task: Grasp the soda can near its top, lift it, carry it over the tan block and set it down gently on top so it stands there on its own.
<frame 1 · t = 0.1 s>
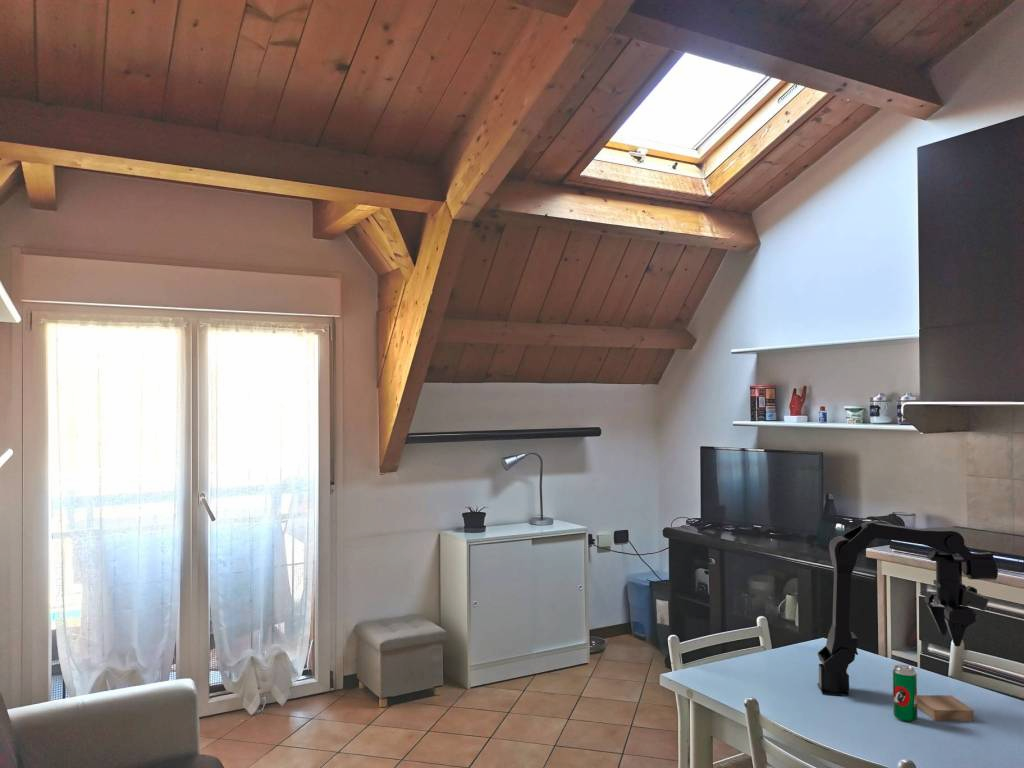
hand: (950, 640, 189), 15 cm above the table, fingers open, 9 cm apart
soda can: (905, 719, 177), on the table
tan block: (943, 713, 180), on the table
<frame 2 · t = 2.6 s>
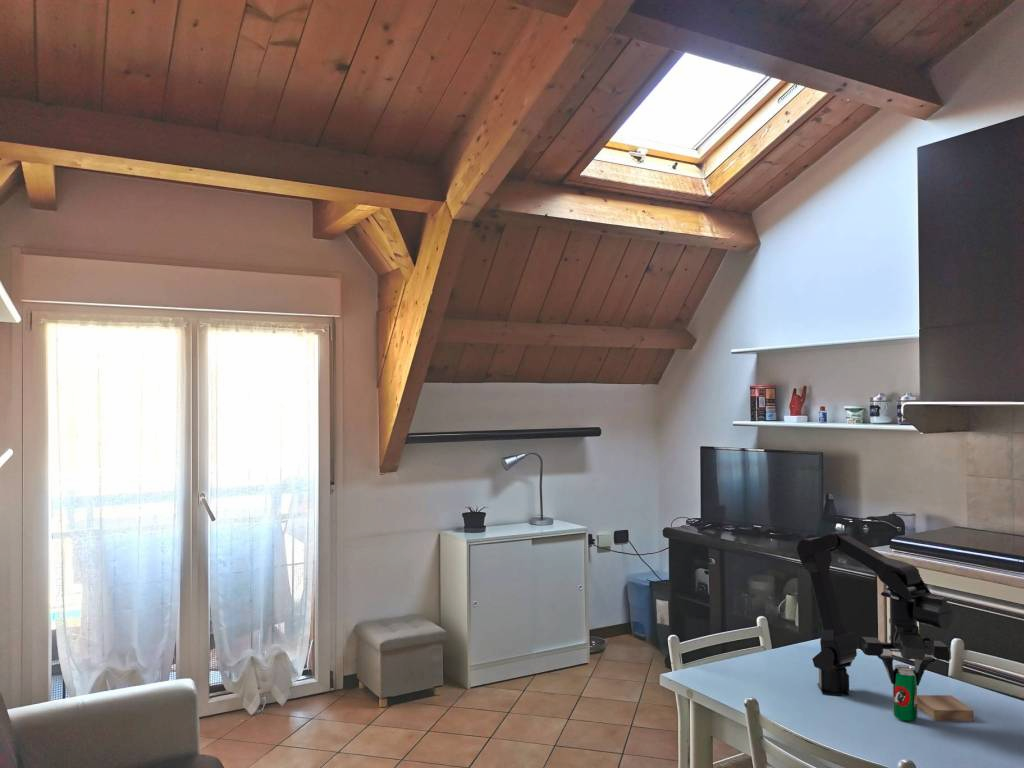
hand: (904, 684, 177), 8 cm above the table, fingers closed on soda can, 5 cm apart
soda can: (905, 719, 177), on the table, touching gripper
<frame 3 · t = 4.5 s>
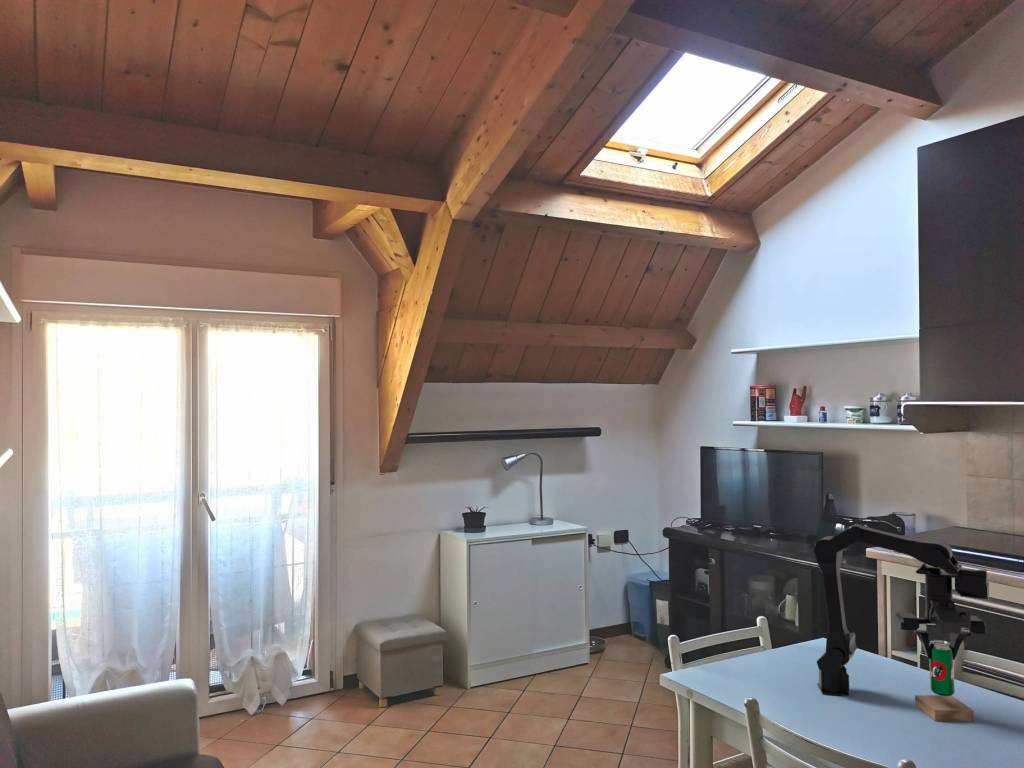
hand: (940, 658, 180), 13 cm above the table, fingers closed on soda can, 5 cm apart
soda can: (942, 693, 180), point 5 cm above the table, touching gripper
when the fingers open (11 cm above the table, at t = 6.1 s): soda can stays where it is, resting on tan block.
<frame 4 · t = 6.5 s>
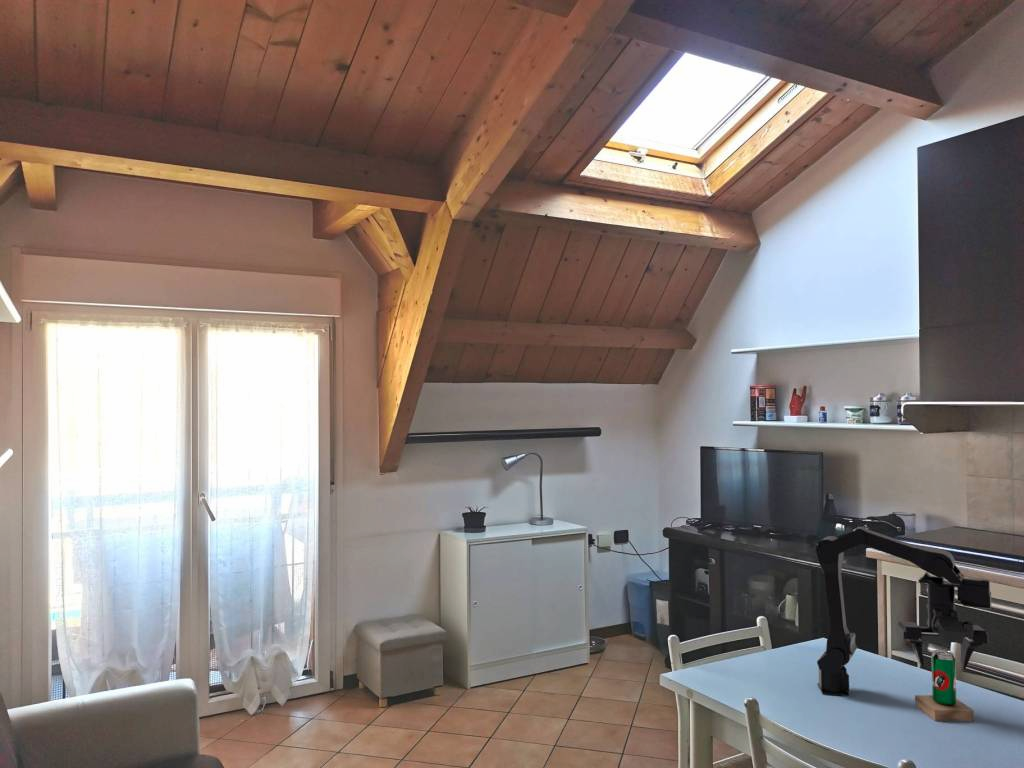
hand: (942, 667, 180), 11 cm above the table, fingers open, 9 cm apart
soda can: (944, 703, 180), point 2 cm above the table, touching tan block
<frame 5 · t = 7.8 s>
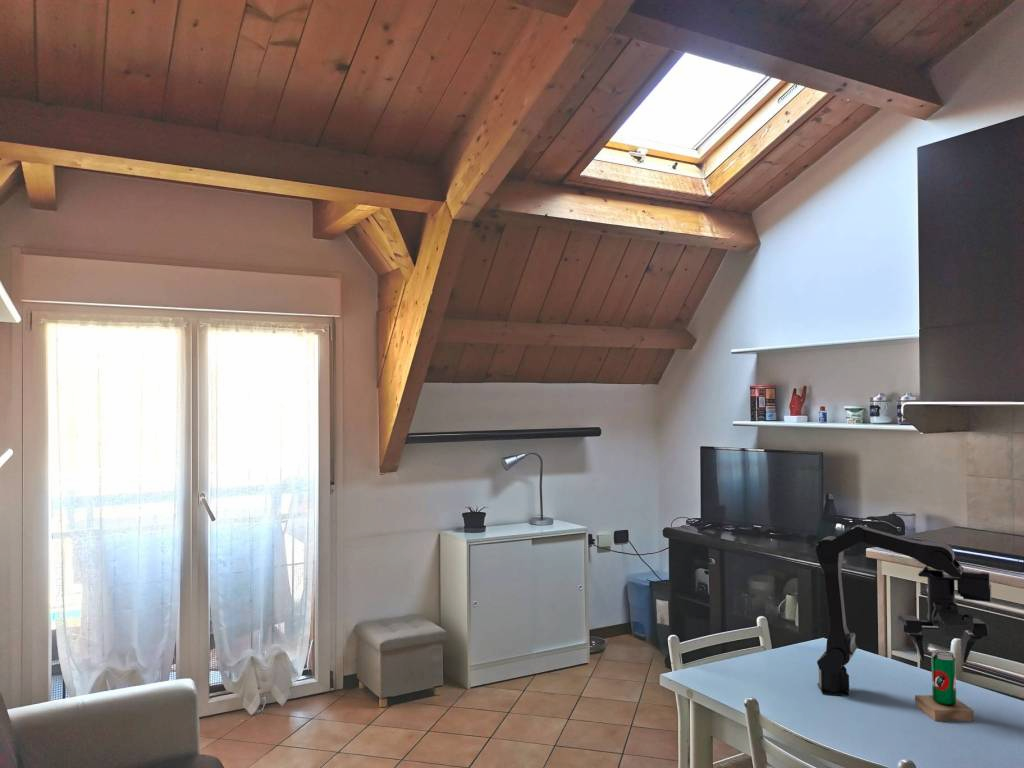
hand: (942, 661, 180), 12 cm above the table, fingers open, 9 cm apart
nothing on the table moved.
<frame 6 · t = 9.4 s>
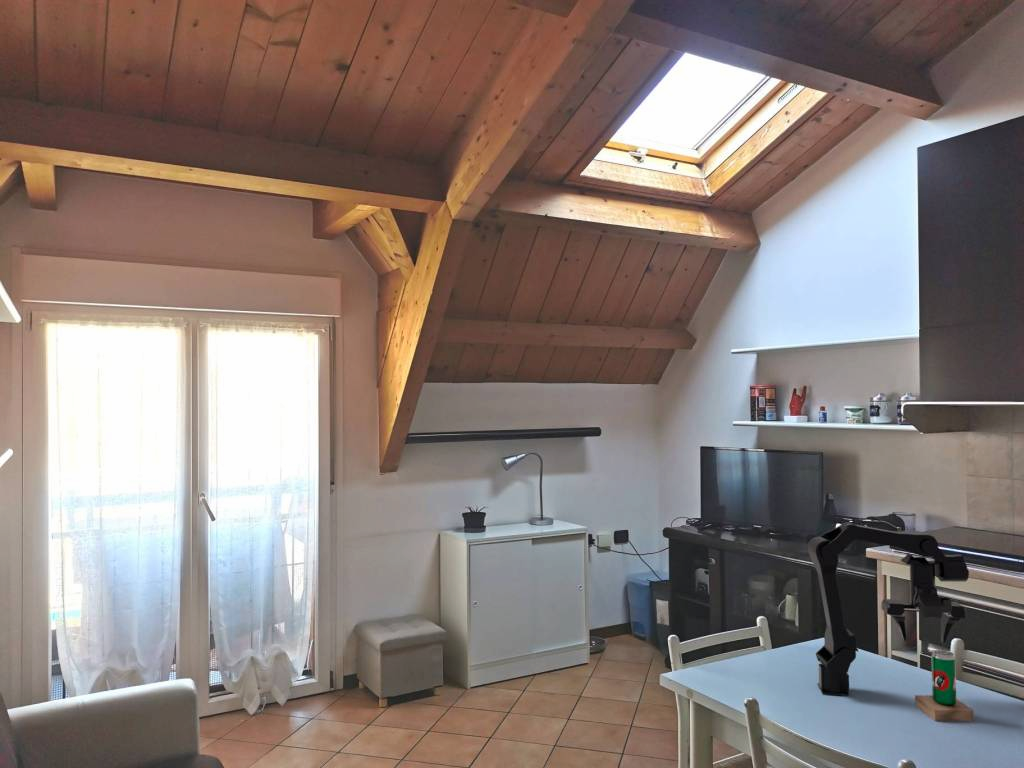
hand: (923, 641, 193), 13 cm above the table, fingers open, 9 cm apart
nothing on the table moved.
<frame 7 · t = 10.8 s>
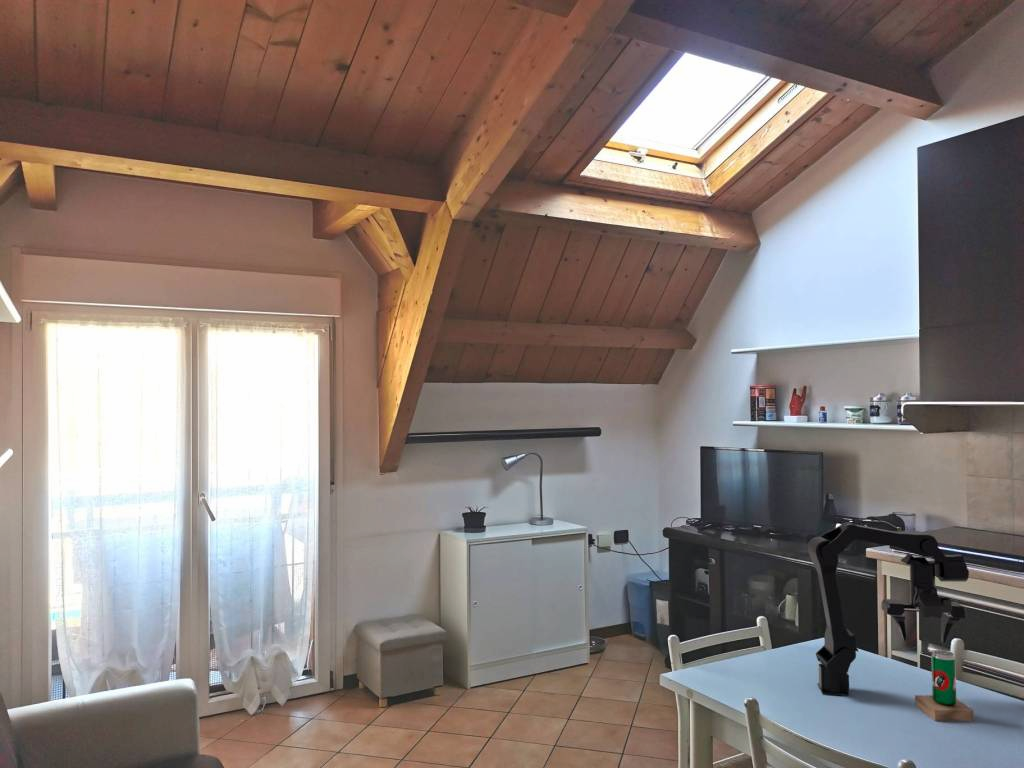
hand: (923, 641, 193), 13 cm above the table, fingers open, 9 cm apart
nothing on the table moved.
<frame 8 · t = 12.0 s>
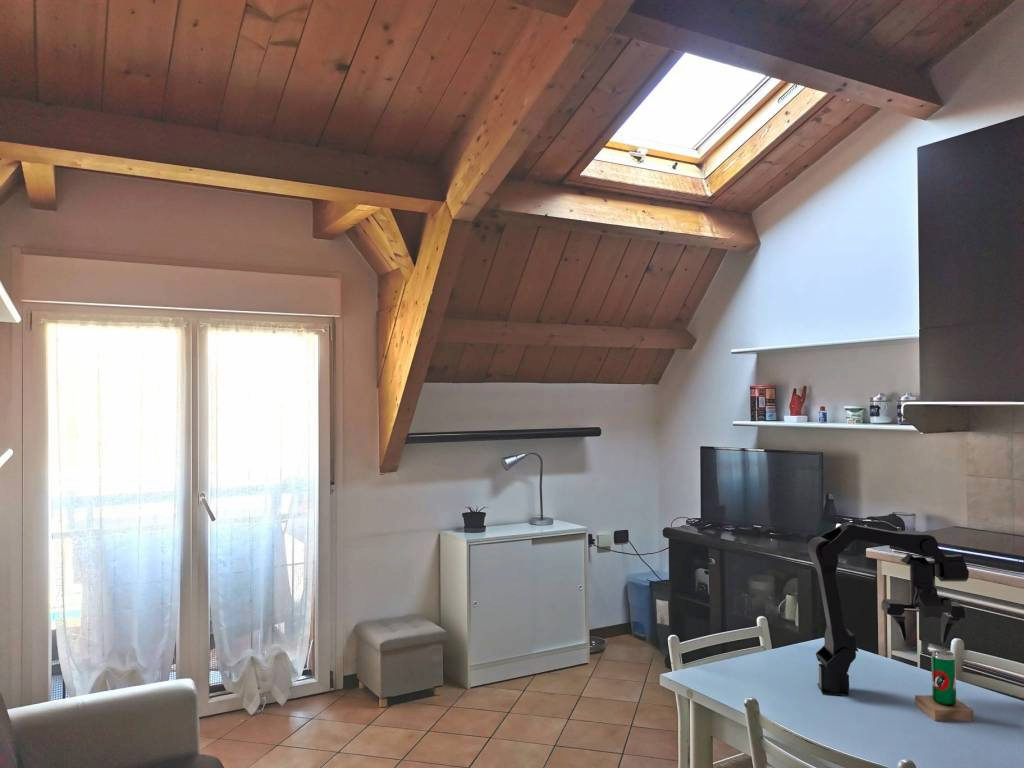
hand: (923, 641, 193), 13 cm above the table, fingers open, 9 cm apart
nothing on the table moved.
at the end: soda can 0.2 cm off-centre on the tan block, point 2.3 cm above the tan block's base; soda can touching tan block; soda can tilted 0° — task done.
